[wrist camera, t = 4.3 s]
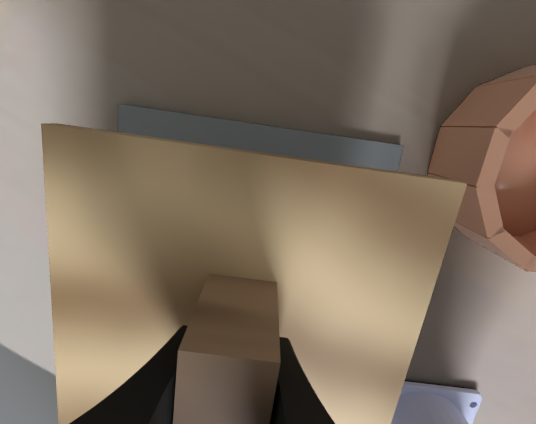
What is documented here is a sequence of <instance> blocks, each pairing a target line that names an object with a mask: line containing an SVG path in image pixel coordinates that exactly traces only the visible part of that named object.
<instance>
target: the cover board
mask: <svg viewBox="0 0 536 424" xmlns="http://www.w3.org/2000/svg"><path fill="white" fill-rule="evenodd" d="M41 128H42V146H43V163H44V180H45V197H46V214H47V231H48V249H49V266H50V283H51V300H52V317H53V334H54V352H55V369H56V386H57V403H58V420H59V424H69V423H71V422H72V421H74V420H75V419H77V418H78V417H80V416H81V415H82V414H84V413H85V412H87V411H88V410H90V409H91V408H93V407H94V406H95V405H97V404H98V403H99V402H101V401H102V400H103V399H105V398H106V397H107V396H108V395H110V394H111V393H112V392H114V391H115V390H116V389H117V388H118V387H120V386H121V385H122V384H123V383H124V382H126V381H127V380H128V379H129V378H130V377H131V376H132V375H133V374H135V373H136V372H137V371H138V370H139V369H140V368H141V367H142V366H144V365H145V364H146V363H147V362H148V361H149V360H150V359H151V358H152V357H153V356H154V355H155V354H156V353H157V352H158V351H159V350H160V349H161V348H162V347H163V346H164V345H165V344H166V343H167V342H168V340H169V339H170V338H171V337H172V336H173V335H174V334H175V333H176V332H177V330H178V329H179V328H180V327H181V326H183V325H187V326H188V327H187V329H186V332H185V334H184V337H183V339H182V342H181V344H180V347H179V349H178V357H177V371H176V385H175V400H174V414H173V424H270V419H271V413H272V408H273V402H274V396H275V391H276V385H277V380H278V374H279V369H280V363H281V360H280V338H279V337H285V338H288V339H289V340H290V342H291V345H292V347H293V350H294V352H295V354H296V356H297V359H298V361H299V363H300V365H301V367H302V369H303V371H304V373H305V375H306V377H307V378H308V380H309V382H310V384H311V386H312V388H313V389H314V391H315V393H316V394H317V396H318V398H319V399H320V401H321V403H322V404H323V406H324V407H325V409H326V411H327V412H328V414H329V415H330V417H331V418H332V420H333V421H334V422H335V424H391V422H392V419H393V416H394V412H395V409H396V406H397V403H398V400H399V397H400V394H401V390H402V387H403V384H404V381H405V378H406V375H407V372H408V368H409V365H410V362H411V359H412V356H413V353H414V350H415V346H416V343H417V340H418V337H419V334H420V331H421V328H422V325H423V321H424V318H425V315H426V312H427V309H428V306H429V303H430V299H431V296H432V293H433V290H434V287H435V284H436V281H437V277H438V274H439V271H440V268H441V265H442V262H443V259H444V255H445V252H446V249H447V246H448V243H449V240H450V237H451V233H452V230H453V227H454V224H455V221H456V218H457V215H458V211H459V208H460V205H461V202H462V199H463V196H464V193H465V190H466V186H467V183H464V182H460V181H457V180H454V179H447V178H440V177H433V176H426V175H418V174H411V173H404V172H397V171H390V170H383V169H376V168H369V167H362V166H355V165H348V164H341V163H333V162H326V161H319V160H312V159H305V158H298V157H291V156H284V155H277V154H270V153H263V152H256V151H248V150H241V149H234V148H227V147H220V146H213V145H206V144H199V143H192V142H185V141H178V140H171V139H163V138H156V137H149V136H142V135H135V134H128V133H121V132H114V131H107V130H100V129H93V128H86V127H78V126H71V125H64V124H41Z"/></svg>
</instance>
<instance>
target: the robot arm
mask: <svg viewBox="0 0 536 424" xmlns="http://www.w3.org/2000/svg"><path fill="white" fill-rule="evenodd" d="M187 327H188V326H187V325H183V326H181V327H180V328H179V329H178V330H177V332H176V333H175V334H174V335H173V336H172V337H171V338H170V339H169V340H168V342H167V343H166V344H165V345H164V346H163V347H162V348H161V349H160V350H159V351H158V352H157V353H156V354H155V355H154V356H153V357H152V358H151V359H150V360H149V361H148V362H147V363H146V364H145V365H144V366H142V367H141V368H140V369H139V370H138V371H137V372H136V373H135V374H133V375H132V376H131V377H130V378H129V379H128V380H127V381H126V382H124V383H123V384H122V385H121V386H120V387H118V388H117V389H116V390H115V391H114V392H112V393H111V394H110V395H108V396H107V397H106V398H105V399H103V400H102V401H101V402H99V403H98V404H97V405H95V406H94V407H93V408H91V409H90V410H88V411H87V412H85V413H84V414H82V415H81V416H80V417H78V418H77V419H75V420H74V421H72V422H71V423H69V424H173V414H174V400H175V385H176V371H177V357H178V349H179V347H180V344H181V342H182V339H183V337H184V334H185V332H186V329H187ZM279 338H280V360H281V363H280V369H279V374H278V380H277V385H276V391H275V396H274V402H273V408H272V413H271V419H270V424H335V422H334V421H333V420H332V418H331V417H330V415H329V414H328V412H327V411H326V409H325V407H324V406H323V404H322V403H321V401H320V399H319V398H318V396H317V394H316V393H315V391H314V389H313V388H312V386H311V384H310V382H309V380H308V378H307V377H306V375H305V373H304V371H303V369H302V367H301V365H300V363H299V361H298V359H297V356H296V354H295V352H294V350H293V347H292V345H291V342H290V340H289V339H288V338H285V337H279ZM481 401H482V395H481V394H480V393H479V392H478V391H477V390H474V389H466V388H457V387H449V386H441V385H432V384H424V383H416V382H407V381H404V384H403V387H402V390H401V394H400V397H399V400H398V403H397V406H396V409H395V412H394V416H393V419H392V422H391V424H472V423H473V420H474V418H475V415H476V413H477V411H478V408H479V406H480V403H481Z"/></svg>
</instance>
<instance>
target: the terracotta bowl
mask: <svg viewBox="0 0 536 424" xmlns="http://www.w3.org/2000/svg"><path fill="white" fill-rule="evenodd" d="M441 126H442V127H440V130H439V133H438V137H437V141H436V144H435V148H434V151H433V155H432V158H431V162H430V166H429V169H428V172H429V173H428V176H433V177H440V178H447V179H454V180H457V181H460V182H464V183H467V186H466V190H465V193H464V196H463V199H462V202H461V205H460V208H459V211H458V215H457V218H456V221H455V224H454V227H455V228H456V229H458V230H459V231H460V232H461V233H462V234H464V235H465V236H466V237H467V238H468V239H470V240H472V241H474V242H476V243H477V244H479V245H481V246H483V247H484V248H486V249H488V250H490V251H491V252H493V253H495V254H497V255H498V256H500V257H502V258H504V259H505V260H507V261H509V262H511V263H512V264H514V265H516V266H518V267H519V268H521V269H523V270H525V271H532V272H536V65H532V66H528V67H524V68H521V69H519V70H516V71H514V72H511V73H509V74H506V75H504V76H501V77H499V78H496V79H494V80H491V81H489V82H486V83H484V84H481V85H479V86H477V87H475V88H474V90H473V91H472V92H471V93H470V94H469V95H468V96H467V97H466V98H465V100H464V101H463V102H462V103H461V104H460V105H459V106H458V107H457V108H456V110H455V111H454V112H453V113H452V114H451V115H450V116H449V117H448V118H447V120H446V121H445V122H444V123H443V124H442V125H441Z"/></svg>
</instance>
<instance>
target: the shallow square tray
mask: <svg viewBox="0 0 536 424" xmlns="http://www.w3.org/2000/svg"><path fill="white" fill-rule="evenodd" d="M118 132H121V133H128V134H135V135H142V136H149V137H156V138H163V139H171V140H178V141H185V142H192V143H199V144H206V145H213V146H220V147H227V148H234V149H241V150H248V151H256V152H263V153H270V154H277V155H284V156H291V157H298V158H305V159H312V160H319V161H326V162H333V163H341V164H348V165H355V166H362V167H369V168H376V169H383V170H390V171H398V167H399V163H400V159H401V155H402V151H403V147H404V146H403V145H396V144H390V143H383V142H376V141H369V140H362V139H356V138H349V137H342V136H335V135H328V134H321V133H315V132H308V131H301V130H294V129H287V128H280V127H274V126H267V125H260V124H253V123H246V122H240V121H233V120H226V119H219V118H212V117H205V116H199V115H192V114H185V113H178V112H171V111H164V110H158V109H151V108H144V107H137V106H130V105H124V104H118Z"/></svg>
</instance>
